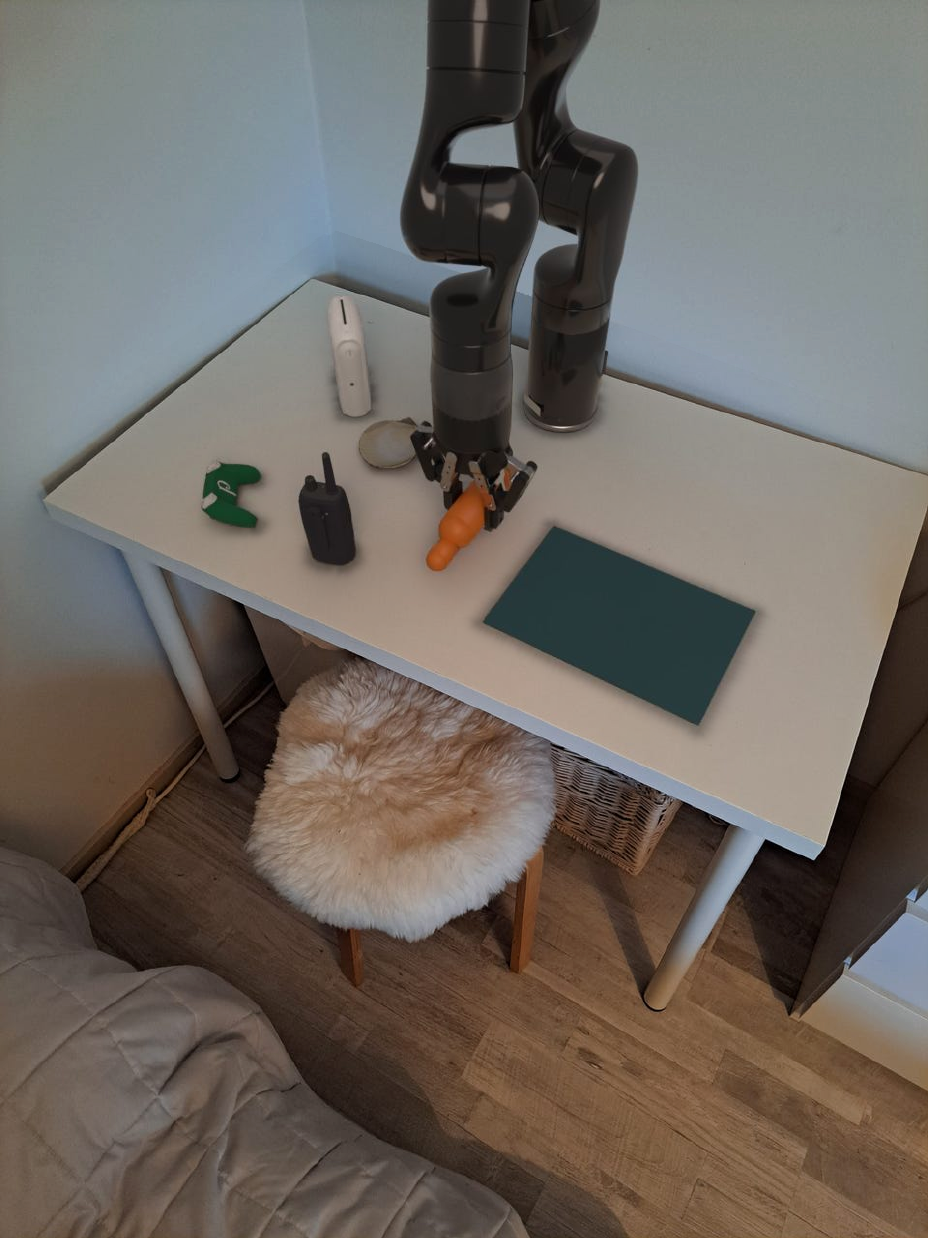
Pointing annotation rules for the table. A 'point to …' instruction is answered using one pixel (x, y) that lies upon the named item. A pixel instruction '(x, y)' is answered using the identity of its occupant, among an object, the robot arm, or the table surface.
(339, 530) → the two-way radio
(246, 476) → the gaming controller
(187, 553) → the table surface
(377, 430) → the seashell
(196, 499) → the table surface
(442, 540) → the carrot
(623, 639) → the cloth
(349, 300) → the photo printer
